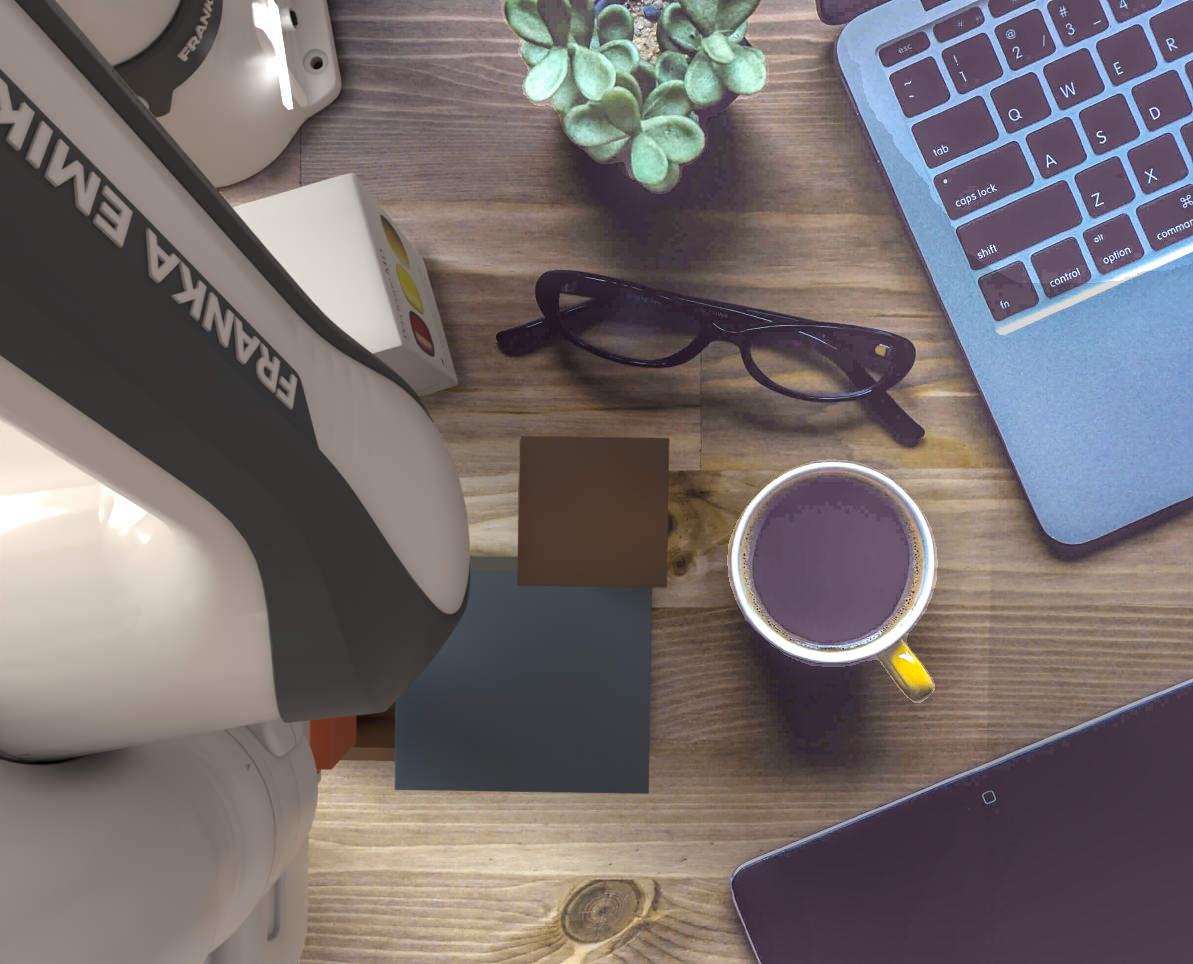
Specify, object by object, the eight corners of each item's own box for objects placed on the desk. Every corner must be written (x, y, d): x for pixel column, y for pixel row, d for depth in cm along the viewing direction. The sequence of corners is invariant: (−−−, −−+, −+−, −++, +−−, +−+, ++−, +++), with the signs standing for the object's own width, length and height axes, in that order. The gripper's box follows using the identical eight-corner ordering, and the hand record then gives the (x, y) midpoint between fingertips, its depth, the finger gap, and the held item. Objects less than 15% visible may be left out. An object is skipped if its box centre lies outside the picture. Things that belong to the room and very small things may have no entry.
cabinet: (426, 740, 61) (394, 790, 51) (428, 555, 61) (396, 571, 51) (641, 743, 61) (648, 794, 51) (643, 558, 61) (652, 574, 51)
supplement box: (462, 386, 61) (408, 353, 44) (331, 425, 61) (228, 406, 44) (422, 250, 61) (353, 164, 44) (291, 289, 61) (173, 218, 44)
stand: (552, 451, 61) (519, 435, 36) (641, 452, 61) (669, 437, 36) (551, 539, 61) (516, 585, 36) (639, 540, 61) (667, 588, 36)
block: (274, 659, 47) (241, 677, 43) (357, 660, 47) (333, 678, 43) (273, 742, 47) (240, 769, 43) (356, 743, 47) (332, 770, 43)
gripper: (266, 1093, 32) (365, 910, 46) (274, 523, 32) (370, 511, 46) (90, 1091, 32) (242, 908, 46) (98, 521, 32) (248, 510, 46)
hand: (307, 706), depth 46 cm, fingers closed on block, 4 cm apart
